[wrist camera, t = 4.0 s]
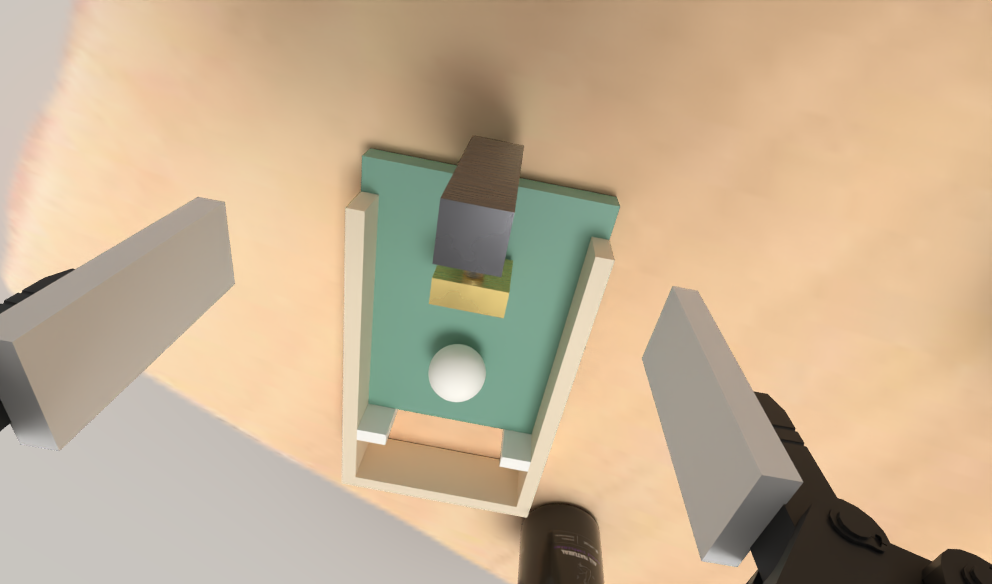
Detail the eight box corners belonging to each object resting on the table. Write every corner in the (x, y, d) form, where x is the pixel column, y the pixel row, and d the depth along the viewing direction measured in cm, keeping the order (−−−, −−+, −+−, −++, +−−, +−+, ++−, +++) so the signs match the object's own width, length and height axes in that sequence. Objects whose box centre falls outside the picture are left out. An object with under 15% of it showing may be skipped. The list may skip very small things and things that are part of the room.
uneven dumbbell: (459, 132, 25) (420, 194, 17) (537, 147, 25) (534, 216, 17) (441, 271, 29) (402, 372, 21) (508, 284, 29) (494, 389, 21)
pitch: (370, 148, 27) (345, 169, 24) (616, 196, 28) (626, 225, 24) (359, 441, 40) (341, 483, 36) (528, 473, 40) (527, 517, 37)
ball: (437, 328, 31) (426, 363, 28) (492, 338, 31) (487, 375, 28) (431, 370, 33) (420, 408, 30) (483, 380, 33) (477, 419, 30)
